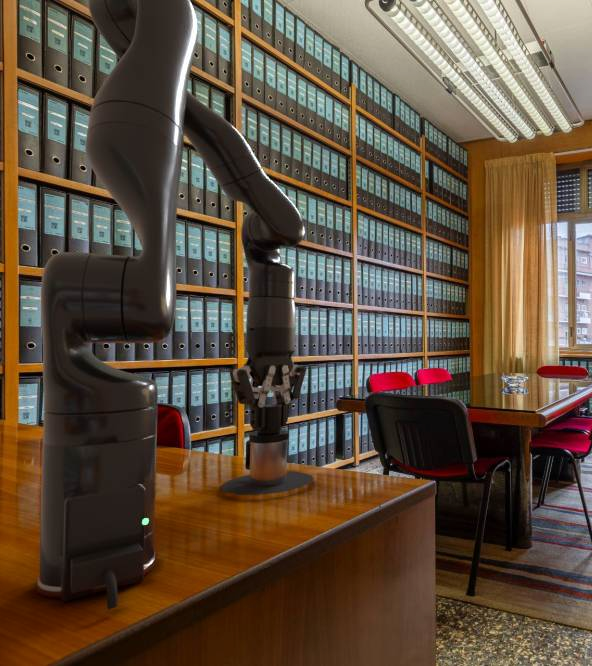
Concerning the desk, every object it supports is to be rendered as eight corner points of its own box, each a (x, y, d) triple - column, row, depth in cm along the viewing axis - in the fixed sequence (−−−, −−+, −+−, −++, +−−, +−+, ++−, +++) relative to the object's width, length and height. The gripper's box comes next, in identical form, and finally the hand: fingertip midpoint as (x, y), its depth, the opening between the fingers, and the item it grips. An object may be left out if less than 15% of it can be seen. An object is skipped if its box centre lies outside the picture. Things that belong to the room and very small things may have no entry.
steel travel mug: (295, 479, 84) (297, 404, 85) (266, 488, 79) (267, 408, 79) (261, 473, 88) (262, 402, 88) (230, 482, 82) (231, 405, 83)
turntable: (327, 488, 83) (327, 482, 83) (236, 507, 73) (236, 500, 73) (293, 472, 93) (293, 467, 93) (209, 487, 83) (209, 481, 83)
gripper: (289, 327, 92) (287, 420, 91) (217, 323, 79) (214, 432, 78) (319, 326, 88) (318, 423, 88) (250, 323, 76) (247, 437, 75)
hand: (269, 427), depth 83 cm, fingers closed on steel travel mug, 3 cm apart
